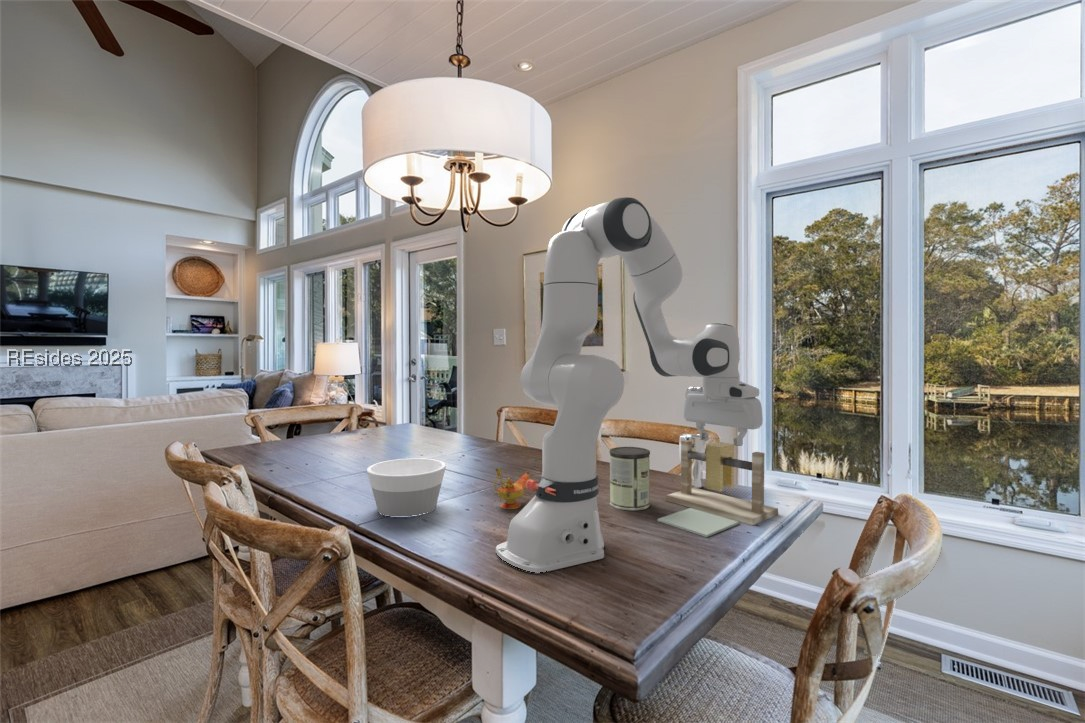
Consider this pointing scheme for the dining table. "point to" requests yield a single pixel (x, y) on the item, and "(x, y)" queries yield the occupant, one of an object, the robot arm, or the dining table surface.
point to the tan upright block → (719, 466)
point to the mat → (698, 522)
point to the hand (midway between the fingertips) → (720, 442)
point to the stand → (718, 502)
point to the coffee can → (629, 478)
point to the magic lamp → (511, 490)
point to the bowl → (406, 485)
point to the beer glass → (696, 464)
